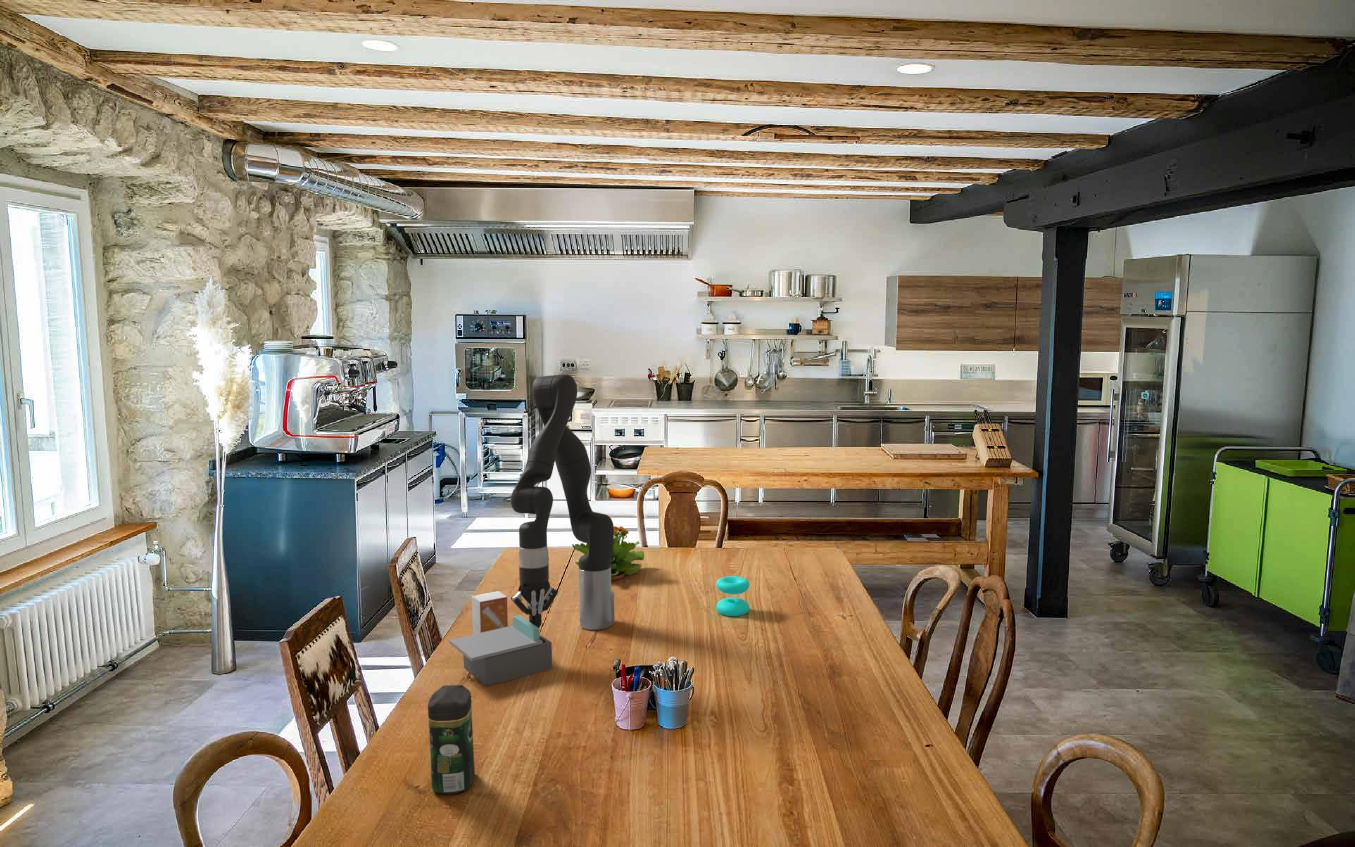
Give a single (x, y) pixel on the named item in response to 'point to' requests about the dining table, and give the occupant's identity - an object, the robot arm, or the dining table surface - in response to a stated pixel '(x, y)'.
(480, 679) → the base
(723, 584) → the donuts
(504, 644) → the lid
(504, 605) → the small box
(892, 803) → the dining table surface
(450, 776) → the coffee jar
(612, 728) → the dining table surface
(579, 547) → the potted flower
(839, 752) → the dining table surface
